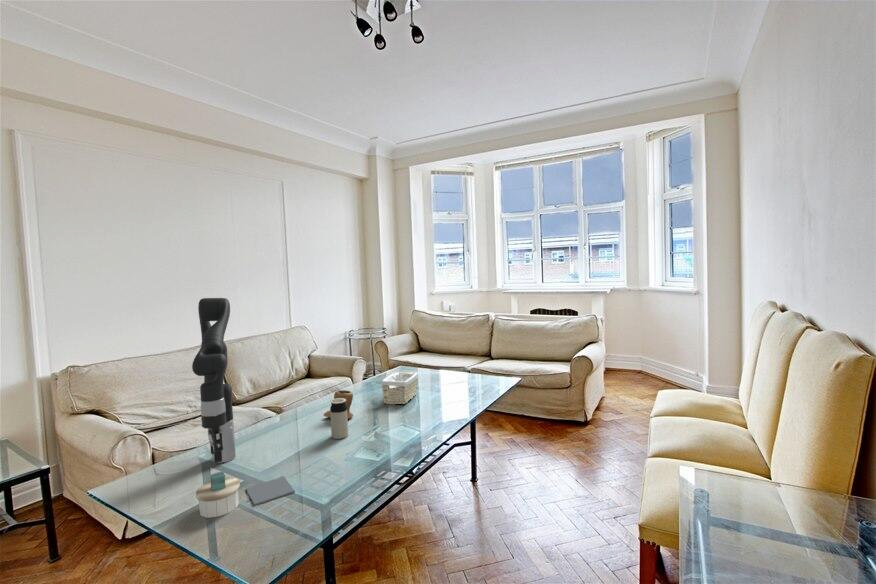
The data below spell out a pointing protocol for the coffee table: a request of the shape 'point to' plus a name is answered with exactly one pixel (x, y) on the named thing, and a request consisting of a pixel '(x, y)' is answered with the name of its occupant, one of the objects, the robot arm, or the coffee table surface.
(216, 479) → the lid
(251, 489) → the mat
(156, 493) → the coffee table surface
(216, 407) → the robot arm
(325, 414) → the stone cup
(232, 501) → the bowl
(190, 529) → the coffee table surface
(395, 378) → the storage basket
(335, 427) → the travel mug
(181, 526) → the coffee table surface
